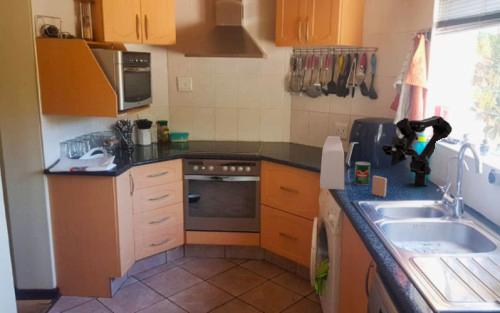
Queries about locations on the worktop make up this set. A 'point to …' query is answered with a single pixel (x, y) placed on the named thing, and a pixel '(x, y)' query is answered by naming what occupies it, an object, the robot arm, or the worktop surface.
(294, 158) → the worktop surface
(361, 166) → the canned tomato
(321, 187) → the milk
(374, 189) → the tile
